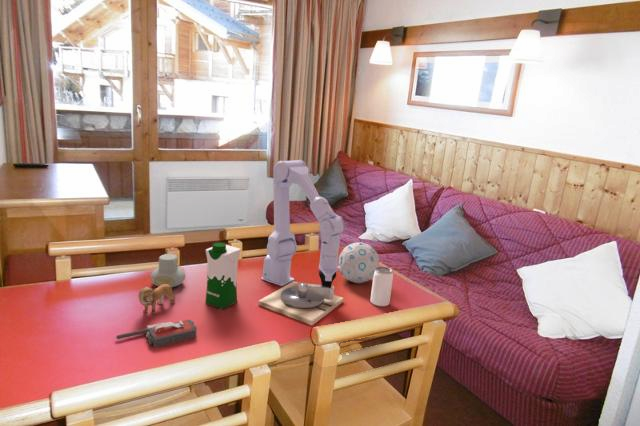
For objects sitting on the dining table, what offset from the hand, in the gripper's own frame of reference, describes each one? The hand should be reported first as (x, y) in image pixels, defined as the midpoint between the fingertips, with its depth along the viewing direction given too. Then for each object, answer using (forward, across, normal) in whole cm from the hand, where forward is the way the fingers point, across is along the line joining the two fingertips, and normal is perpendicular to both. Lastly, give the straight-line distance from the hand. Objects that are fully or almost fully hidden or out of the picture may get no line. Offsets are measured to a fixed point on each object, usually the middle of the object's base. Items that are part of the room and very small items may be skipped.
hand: (325, 292), depth 146 cm
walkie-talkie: (+4, -27, +45) cm, 53 cm away
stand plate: (+4, -1, +8) cm, 9 cm away
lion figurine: (+4, -12, +50) cm, 52 cm away
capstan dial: (+2, -1, +6) cm, 7 cm away
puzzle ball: (+4, +20, -13) cm, 24 cm away
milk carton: (+4, -4, +33) cm, 33 cm away
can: (+4, +4, -19) cm, 20 cm away
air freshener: (+4, +5, +53) cm, 53 cm away
